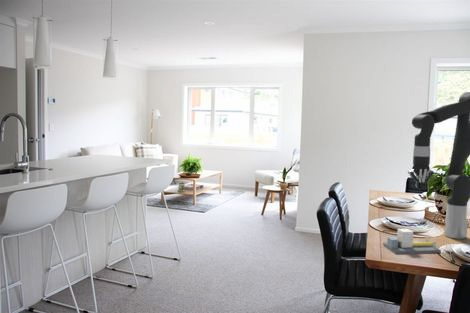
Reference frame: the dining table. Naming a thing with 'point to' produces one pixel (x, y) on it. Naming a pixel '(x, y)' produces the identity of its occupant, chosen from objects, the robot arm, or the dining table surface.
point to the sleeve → (405, 237)
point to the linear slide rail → (416, 248)
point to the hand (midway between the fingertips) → (420, 189)
